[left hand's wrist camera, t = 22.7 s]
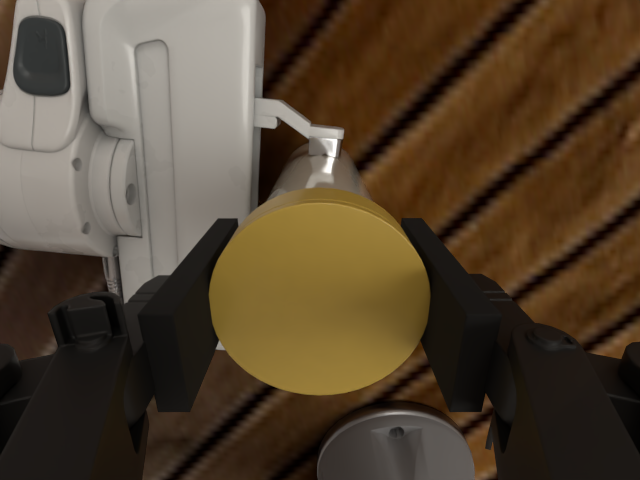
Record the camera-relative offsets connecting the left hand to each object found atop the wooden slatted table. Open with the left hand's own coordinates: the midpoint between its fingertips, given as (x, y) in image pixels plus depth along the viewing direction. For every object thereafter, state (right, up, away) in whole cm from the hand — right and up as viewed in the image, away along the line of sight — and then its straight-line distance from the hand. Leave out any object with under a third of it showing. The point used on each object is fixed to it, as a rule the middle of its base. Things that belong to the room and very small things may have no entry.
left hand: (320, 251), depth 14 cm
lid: (0, -1, -4) cm, 4 cm away
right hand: (+1, +3, +7) cm, 7 cm away
